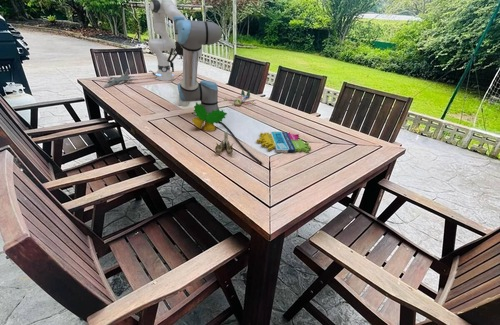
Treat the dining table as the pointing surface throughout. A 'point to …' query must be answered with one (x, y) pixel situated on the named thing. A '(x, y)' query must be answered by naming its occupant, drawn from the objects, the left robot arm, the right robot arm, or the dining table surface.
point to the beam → (182, 102)
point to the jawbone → (224, 145)
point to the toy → (241, 99)
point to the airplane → (119, 79)
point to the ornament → (207, 117)
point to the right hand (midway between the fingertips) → (182, 72)
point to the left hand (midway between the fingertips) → (190, 61)
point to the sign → (283, 142)
